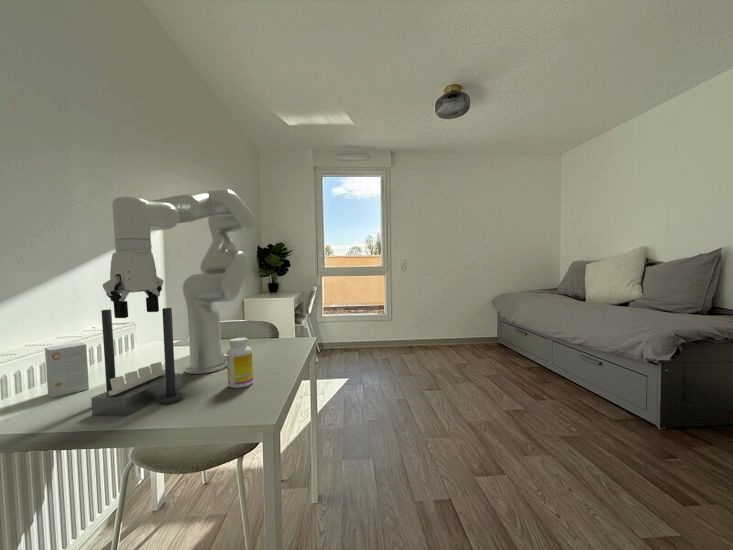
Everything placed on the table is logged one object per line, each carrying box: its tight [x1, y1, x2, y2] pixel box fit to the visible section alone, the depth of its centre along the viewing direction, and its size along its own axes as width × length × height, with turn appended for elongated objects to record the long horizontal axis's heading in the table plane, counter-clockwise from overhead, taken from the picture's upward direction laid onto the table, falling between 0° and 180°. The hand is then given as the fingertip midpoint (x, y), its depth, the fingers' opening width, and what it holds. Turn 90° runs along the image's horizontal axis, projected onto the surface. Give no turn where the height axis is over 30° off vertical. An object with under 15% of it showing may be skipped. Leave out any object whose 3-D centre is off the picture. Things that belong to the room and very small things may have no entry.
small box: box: [44, 341, 90, 399], centre depth 94 cm, size 8×6×13 cm
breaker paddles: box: [109, 361, 165, 396], centre depth 85 cm, size 16×2×4 cm, turn 171°
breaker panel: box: [90, 373, 183, 417], centre depth 85 cm, size 18×9×4 cm, turn 171°
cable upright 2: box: [159, 307, 184, 406], centre depth 84 cm, size 5×5×23 cm
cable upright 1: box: [100, 308, 117, 392], centre depth 87 cm, size 5×5×23 cm
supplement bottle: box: [226, 337, 254, 389], centre depth 94 cm, size 7×7×13 cm
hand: (138, 314), depth 85 cm, fingers open, 9 cm apart
